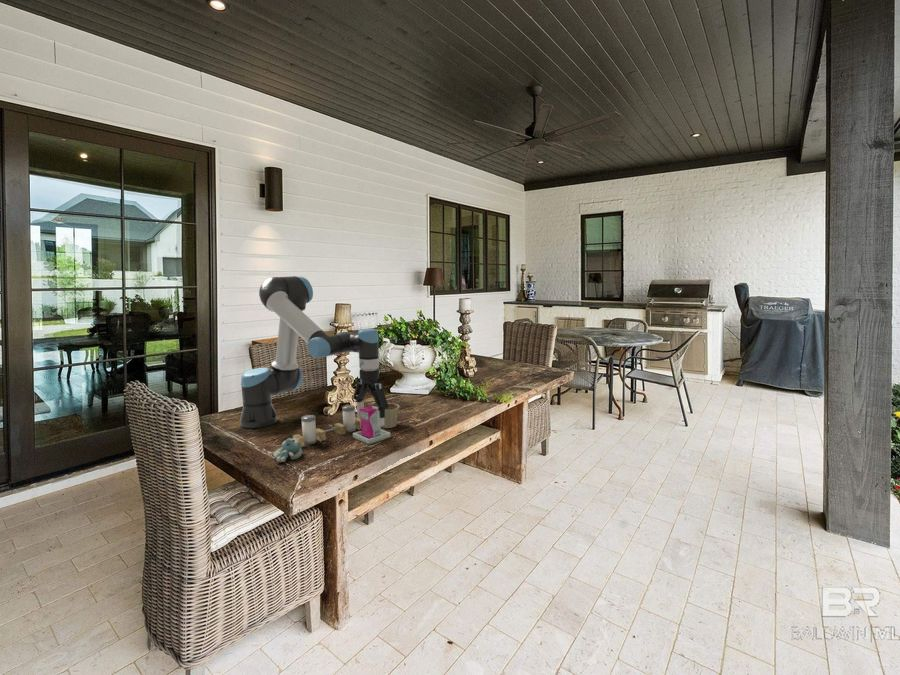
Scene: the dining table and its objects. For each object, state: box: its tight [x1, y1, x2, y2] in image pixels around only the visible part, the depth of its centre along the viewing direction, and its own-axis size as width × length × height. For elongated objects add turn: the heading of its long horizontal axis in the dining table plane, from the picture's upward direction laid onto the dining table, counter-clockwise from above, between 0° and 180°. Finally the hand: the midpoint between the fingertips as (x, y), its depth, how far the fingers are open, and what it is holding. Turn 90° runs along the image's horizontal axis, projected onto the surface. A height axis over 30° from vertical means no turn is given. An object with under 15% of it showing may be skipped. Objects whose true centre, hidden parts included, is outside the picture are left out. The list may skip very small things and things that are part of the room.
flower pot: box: [376, 402, 400, 429], centre depth 195 cm, size 9×9×9 cm
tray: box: [352, 428, 392, 445], centre depth 182 cm, size 11×11×2 cm
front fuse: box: [300, 414, 318, 446], centre depth 177 cm, size 5×5×10 cm
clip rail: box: [292, 417, 361, 448], centre depth 185 cm, size 8×29×4 cm, turn 135°
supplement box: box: [359, 405, 382, 439], centre depth 182 cm, size 6×6×12 cm
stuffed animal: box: [272, 437, 303, 463], centre depth 163 cm, size 11×7×12 cm
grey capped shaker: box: [341, 404, 357, 434], centre depth 190 cm, size 5×5×10 cm
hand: (370, 421), depth 182 cm, fingers open, 13 cm apart
